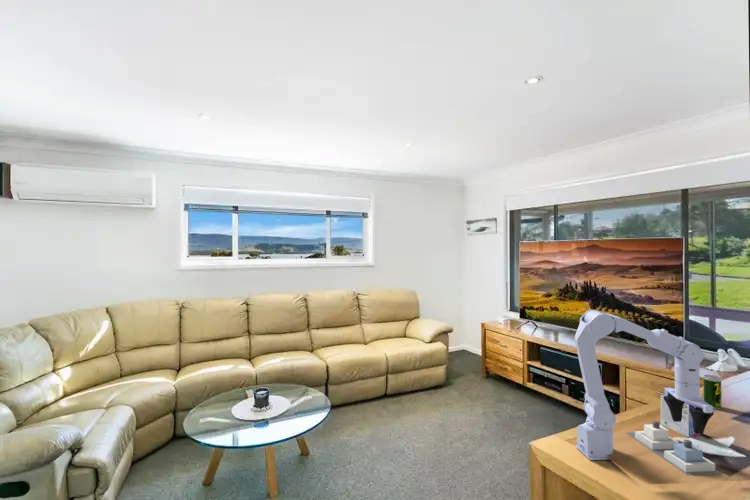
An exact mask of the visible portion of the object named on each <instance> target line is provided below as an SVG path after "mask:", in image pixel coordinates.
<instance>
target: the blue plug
mask: <svg viewBox="0 0 750 500" xmlns="http://www.w3.org/2000/svg"><path fill="white" fill-rule="evenodd" d="M703 454H704V453H703V449H701V448H699V446H696V445H694V444H693V442H692V440H689V439H683V442H679V443H675V444H674V455H675V456H676V457H678V458H680V459H681V460H683V461H684V462H686V463H696V462H703V457H704V456H703Z"/></svg>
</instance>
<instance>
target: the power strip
mask: <svg viewBox="0 0 750 500" xmlns="http://www.w3.org/2000/svg"><path fill="white" fill-rule="evenodd" d="M625 434H626V435H628V436H630V437H631V438H632V439H633V440H635V441H637V442H638V443H639V444H640V445H642V446H644V447H645V448H647V449H648V450H650V451H651V452H653V453H654V454H655V455H657V456H658V457H659V458H661V459H663V460H664V461H666V462H667V463H669V464H670V465H672V466H673V467H674V468H676V469H678V470H679V471H681V472H682V473H683V474H684V475H686V476H695V475H696V476H697V475H699V476H700V475H720V474H721V475H722V474H723V473H722V472H720V471H719V470H717V469H716V463H715V462H713V461H711V460H710V459H708V458H706V457H704V456H703V462H696V463H686V462H684V461H683V460H681V459H680V458H678V457H676V456H675V455H674V444H675V443H680V442H679V441H678V440H676V439H674V438H673V437H671V436H669V441H652V440H650V439H649V438H647V437H646V436H644V430H636V431H634V432H625Z"/></svg>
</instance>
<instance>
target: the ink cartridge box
mask: <svg viewBox="0 0 750 500" xmlns="http://www.w3.org/2000/svg"><path fill="white" fill-rule="evenodd" d="M664 396H667V394H665V393H663V394H660V425H661V426H663V427H665V428H666V429H667V428H668V429H670V430H672V431H675V432H676V433H679V434H681V435H683V436H685V437H688V438H692V437H693V438H694V437H699V436H701V434H696V433H695V432H694V428H693V420H692V416H691V413H690V411H689V409H694V408H695V409H696V407H695V406H692V405H690V404H688V403H686V402H684V405H683V409H682V420H681V422H674V421H673V419H672V416H671V413H670V410H669V407H668V405H667V403H666V402H665V400H664Z"/></svg>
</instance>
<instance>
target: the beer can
mask: <svg viewBox="0 0 750 500" xmlns="http://www.w3.org/2000/svg"><path fill="white" fill-rule="evenodd" d="M702 380H703V383H702V384H703V386H702V387H703V390H702V391H703V393H702V394H703V396H702V397H703V400H704V401H705V402H706V403H708V404H709V405H711V406H713V410H721V408H722V403H723V402H722V401H723V400H722V379H721V377H720V376H718V375H715V374H713V375H712V374H704V375H703V379H702Z"/></svg>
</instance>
